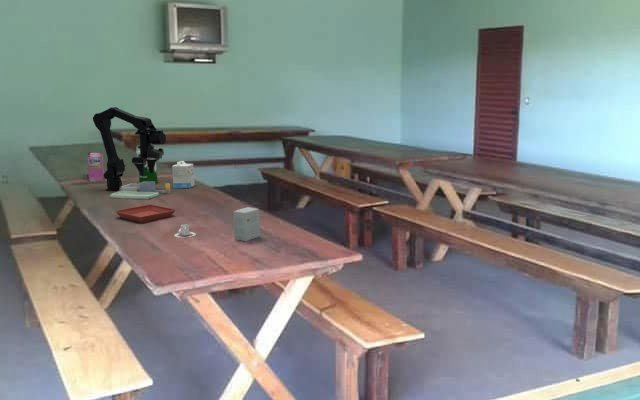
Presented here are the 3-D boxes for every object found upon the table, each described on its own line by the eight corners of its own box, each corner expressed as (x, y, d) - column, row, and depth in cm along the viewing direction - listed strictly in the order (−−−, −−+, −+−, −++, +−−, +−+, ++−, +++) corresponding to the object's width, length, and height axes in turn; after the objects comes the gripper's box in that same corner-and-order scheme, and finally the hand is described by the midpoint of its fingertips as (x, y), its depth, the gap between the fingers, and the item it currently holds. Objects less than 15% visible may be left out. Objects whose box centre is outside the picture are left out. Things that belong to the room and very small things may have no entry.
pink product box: (90, 174, 374) (88, 151, 371) (104, 174, 376) (102, 151, 373) (88, 181, 351) (86, 157, 349) (103, 180, 354) (102, 156, 351)
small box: (248, 234, 235) (247, 206, 233) (260, 236, 232) (259, 208, 230) (233, 239, 229) (232, 210, 227) (245, 241, 226) (244, 212, 224)
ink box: (188, 188, 327) (186, 162, 325) (173, 188, 329) (171, 162, 326) (194, 185, 336) (193, 160, 333) (179, 185, 337) (178, 160, 335)
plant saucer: (150, 211, 278) (150, 203, 277) (177, 216, 267) (176, 209, 266) (114, 218, 264) (114, 210, 264) (140, 225, 253) (140, 217, 252)
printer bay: (119, 192, 317) (119, 187, 317) (130, 189, 327) (130, 183, 326) (136, 193, 315) (135, 187, 315) (146, 189, 325) (146, 183, 324)
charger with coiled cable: (178, 232, 241) (178, 222, 240) (199, 232, 240) (198, 222, 239) (171, 238, 232) (170, 227, 231) (192, 239, 232) (192, 228, 231)
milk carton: (160, 182, 345) (158, 146, 341) (150, 185, 337) (147, 148, 332) (146, 181, 348) (144, 145, 344) (136, 184, 340) (133, 147, 336)
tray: (109, 197, 305) (108, 194, 305) (120, 193, 315) (119, 190, 314) (149, 199, 300) (148, 196, 300) (159, 195, 310) (158, 192, 310)
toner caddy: (139, 192, 318) (139, 182, 317) (144, 190, 322) (144, 181, 321) (167, 193, 314) (167, 183, 313) (172, 191, 319) (171, 181, 318)
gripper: (151, 146, 304) (153, 178, 307) (169, 141, 321) (170, 172, 325) (130, 145, 306) (132, 177, 309) (148, 141, 324) (150, 171, 327)
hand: (147, 174), depth 317 cm, fingers open, 9 cm apart
